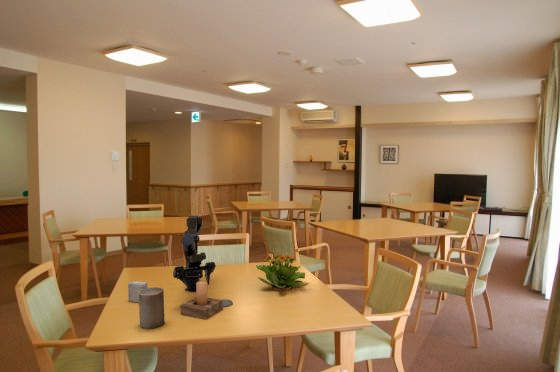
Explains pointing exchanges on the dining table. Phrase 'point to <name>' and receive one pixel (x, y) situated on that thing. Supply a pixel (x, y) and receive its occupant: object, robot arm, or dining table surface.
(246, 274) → the dining table surface
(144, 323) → the pillar candle
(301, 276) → the potted flower
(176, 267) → the robot arm
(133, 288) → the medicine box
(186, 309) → the pocket block
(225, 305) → the coaster
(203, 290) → the peg
